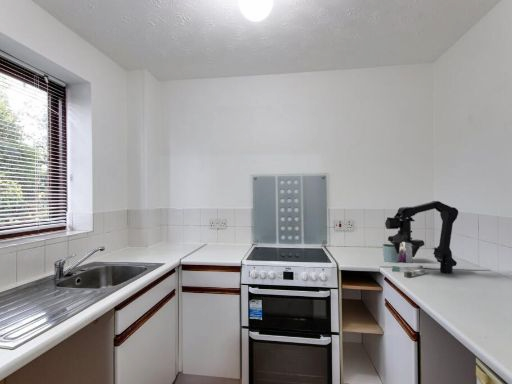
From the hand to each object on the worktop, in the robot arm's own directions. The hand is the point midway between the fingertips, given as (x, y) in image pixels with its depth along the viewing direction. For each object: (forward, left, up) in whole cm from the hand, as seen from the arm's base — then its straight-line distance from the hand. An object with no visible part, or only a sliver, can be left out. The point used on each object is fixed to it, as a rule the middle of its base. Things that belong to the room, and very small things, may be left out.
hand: (405, 255), depth 147 cm
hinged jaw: (0, 0, -10) cm, 10 cm away
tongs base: (0, +2, -11) cm, 11 cm away
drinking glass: (-13, -20, -11) cm, 26 cm away
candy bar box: (-24, -18, -11) cm, 32 cm away
